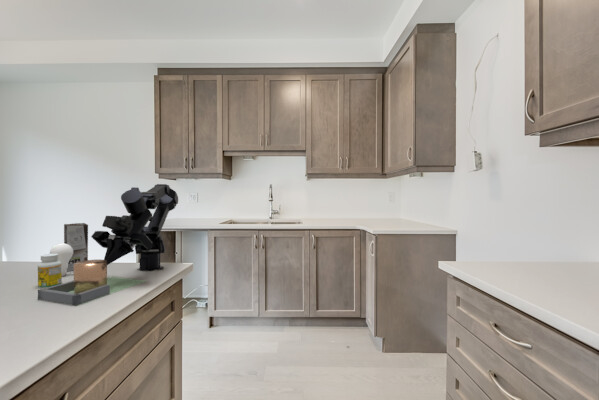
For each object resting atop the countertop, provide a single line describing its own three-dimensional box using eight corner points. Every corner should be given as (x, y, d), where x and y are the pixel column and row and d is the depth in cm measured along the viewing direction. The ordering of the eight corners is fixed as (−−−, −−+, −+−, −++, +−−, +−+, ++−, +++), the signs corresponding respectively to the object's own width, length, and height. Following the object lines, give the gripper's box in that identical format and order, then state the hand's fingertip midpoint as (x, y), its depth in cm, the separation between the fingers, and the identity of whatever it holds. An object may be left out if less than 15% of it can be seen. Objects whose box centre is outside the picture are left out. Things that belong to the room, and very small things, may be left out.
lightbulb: (78, 274, 102) (77, 242, 102) (62, 279, 96) (62, 245, 96) (61, 273, 103) (61, 241, 103) (44, 278, 97) (44, 244, 97)
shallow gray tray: (73, 288, 86) (73, 280, 86) (109, 293, 82) (109, 284, 82) (37, 299, 77) (37, 290, 77) (75, 305, 74) (75, 295, 73)
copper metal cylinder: (93, 285, 89) (93, 258, 89) (113, 288, 87) (113, 260, 86) (66, 293, 82) (66, 264, 82) (87, 297, 79) (87, 266, 79)
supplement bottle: (64, 286, 90) (64, 254, 90) (42, 291, 85) (42, 257, 85) (56, 283, 92) (56, 252, 92) (34, 288, 88) (34, 255, 88)
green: (112, 278, 98) (112, 276, 98) (146, 282, 95) (146, 280, 95) (37, 301, 77) (37, 299, 77) (76, 308, 73) (76, 305, 73)
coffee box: (88, 268, 110) (88, 224, 110) (66, 271, 106) (66, 225, 105) (84, 264, 117) (84, 222, 116) (63, 266, 113) (63, 223, 112)
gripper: (97, 205, 95) (60, 245, 85) (145, 206, 90) (113, 250, 80) (118, 227, 103) (87, 267, 93) (164, 230, 98) (136, 272, 87)
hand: (104, 264), depth 88 cm, fingers closed
